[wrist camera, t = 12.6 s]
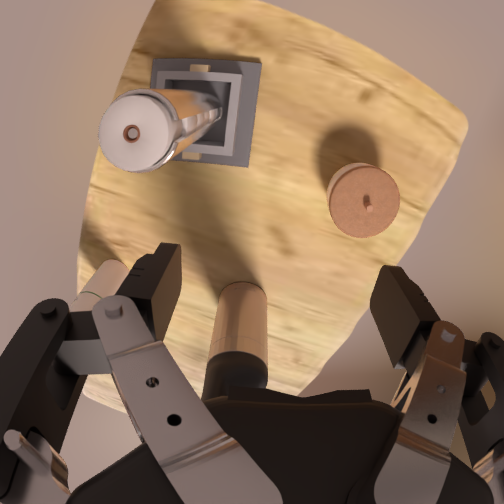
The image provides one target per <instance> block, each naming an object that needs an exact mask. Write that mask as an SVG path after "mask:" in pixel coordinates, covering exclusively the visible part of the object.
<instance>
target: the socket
mask: <svg viewBox="0 0 504 504" xmlns="http://www.w3.org/2000/svg"><path fill="white" fill-rule="evenodd" d="M261 67H262V64H261V63H253V62H243V61H231V60H216V59H190V58H164V59H153V67H152V76H151V87H150V89H182V90H199V91H207V92H210V93H212V94H213V95H215V96H216V97H217V98H218V100H219V101H220V103H221V106H222V117H221V120H220V122H219V124H218V125H217V126H216V127H215V128H214V129H212V130H211V131H209V132H208V133H206V134H205V135H203V136H202V137H201V138H199V139H198V140H196V141H195V142H194V143H192V144H191V145H190V146H188V147H187V148H185V149H184V150H183V151H181V152H180V153H179V154H177V155H176V156H175V157H173V158H172V159H171V160H176V161H188V162H200V163H211V164H221V165H230V166H239V167H247V168H248V166H249V158H250V150H251V143H252V135H253V127H254V119H255V112H256V104H257V97H258V89H259V82H260V74H261Z"/></svg>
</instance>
